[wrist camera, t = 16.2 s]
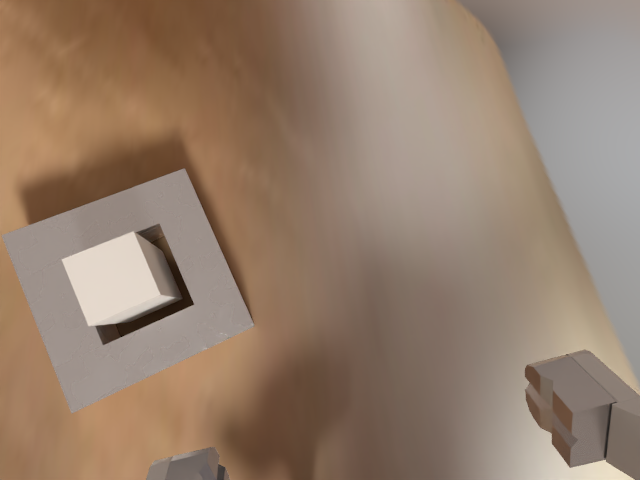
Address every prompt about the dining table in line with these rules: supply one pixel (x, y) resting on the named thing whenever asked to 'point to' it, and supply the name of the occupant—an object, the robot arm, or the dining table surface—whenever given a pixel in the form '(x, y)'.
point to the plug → (121, 280)
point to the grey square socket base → (104, 340)
